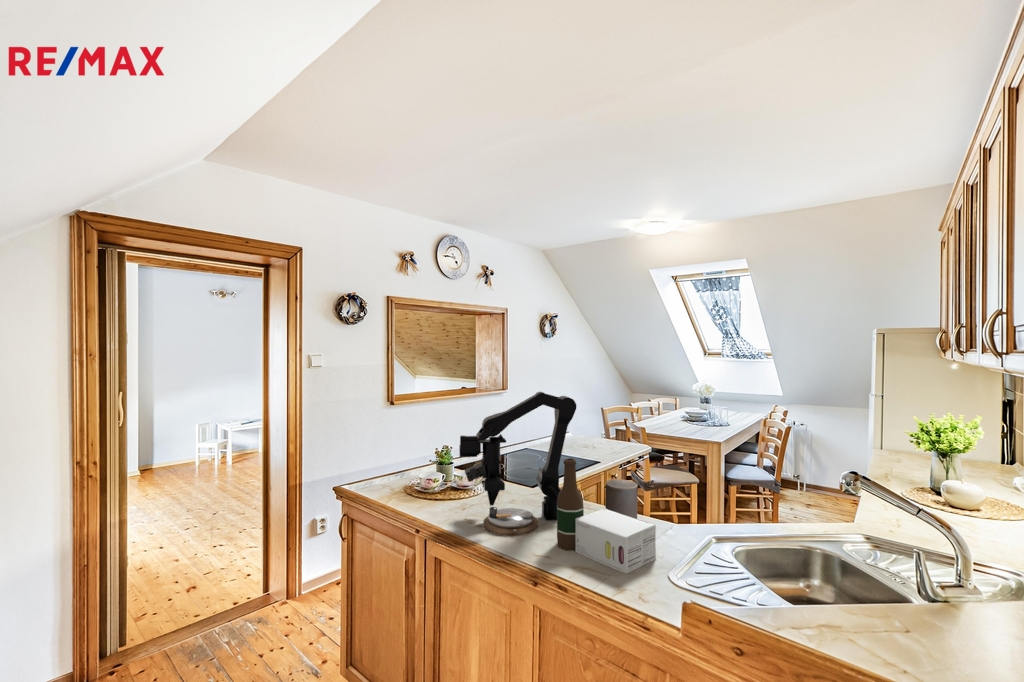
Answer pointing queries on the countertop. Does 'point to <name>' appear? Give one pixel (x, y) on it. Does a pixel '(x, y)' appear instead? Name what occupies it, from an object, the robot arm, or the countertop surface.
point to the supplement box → (616, 540)
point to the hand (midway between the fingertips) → (491, 505)
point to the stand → (511, 532)
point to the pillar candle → (621, 497)
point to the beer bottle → (568, 508)
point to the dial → (509, 518)
